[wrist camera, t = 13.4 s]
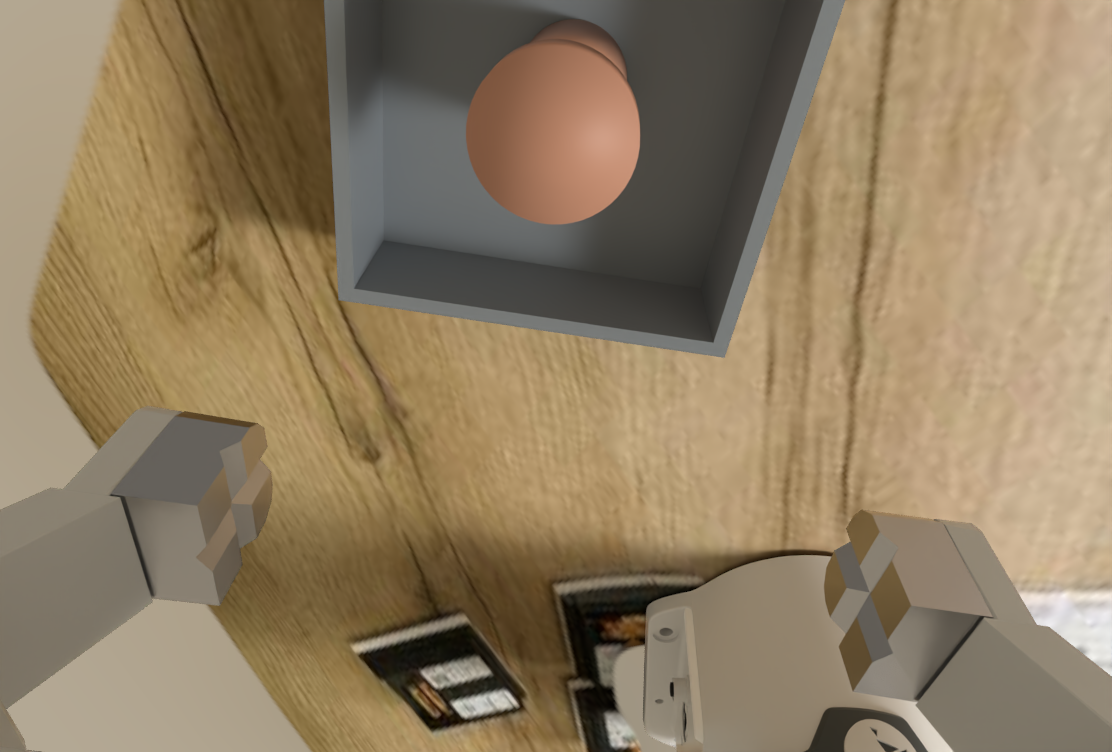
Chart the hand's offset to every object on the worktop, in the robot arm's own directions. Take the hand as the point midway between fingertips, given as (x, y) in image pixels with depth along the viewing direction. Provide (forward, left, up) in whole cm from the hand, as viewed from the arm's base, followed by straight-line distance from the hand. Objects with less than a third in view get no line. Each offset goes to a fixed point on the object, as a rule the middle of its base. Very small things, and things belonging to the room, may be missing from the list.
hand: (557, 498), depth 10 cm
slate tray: (0, +1, -21) cm, 21 cm away
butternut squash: (+1, +1, -21) cm, 21 cm away
